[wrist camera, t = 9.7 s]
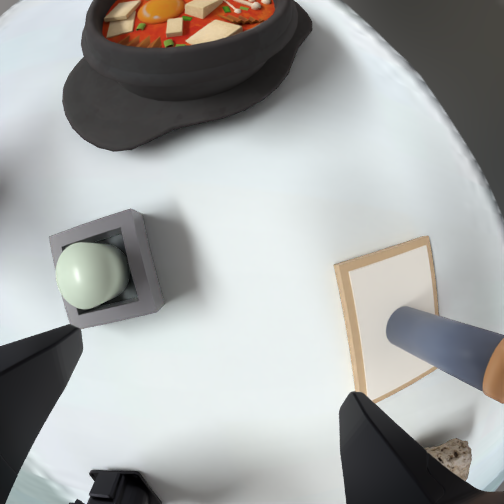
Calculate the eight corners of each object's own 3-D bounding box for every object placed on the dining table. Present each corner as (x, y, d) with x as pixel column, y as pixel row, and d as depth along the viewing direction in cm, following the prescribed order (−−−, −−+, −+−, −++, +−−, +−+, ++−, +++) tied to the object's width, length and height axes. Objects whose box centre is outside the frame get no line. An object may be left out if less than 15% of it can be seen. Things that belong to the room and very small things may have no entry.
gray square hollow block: (165, 303, 20) (157, 312, 17) (88, 321, 20) (72, 330, 17) (142, 214, 20) (131, 208, 17) (67, 238, 19) (49, 236, 16)
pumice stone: (460, 413, 25) (497, 435, 17) (437, 470, 25) (465, 494, 17) (380, 449, 23) (415, 488, 15) (362, 504, 23) (385, 540, 15)
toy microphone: (411, 345, 22) (517, 396, 9) (380, 346, 21) (491, 409, 9) (421, 306, 22) (536, 338, 9) (390, 303, 21) (514, 342, 9)
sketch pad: (434, 364, 24) (440, 367, 23) (357, 405, 23) (362, 410, 21) (422, 236, 23) (429, 235, 22) (333, 264, 22) (339, 265, 21)
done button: (136, 292, 19) (117, 301, 15) (90, 303, 18) (65, 314, 14) (122, 237, 19) (101, 234, 15) (77, 251, 18) (49, 251, 14)
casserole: (228, -26, 21) (234, -74, 12) (346, 55, 22) (382, 6, 14) (45, 87, 19) (6, 46, 10) (141, 210, 20) (99, 186, 12)
